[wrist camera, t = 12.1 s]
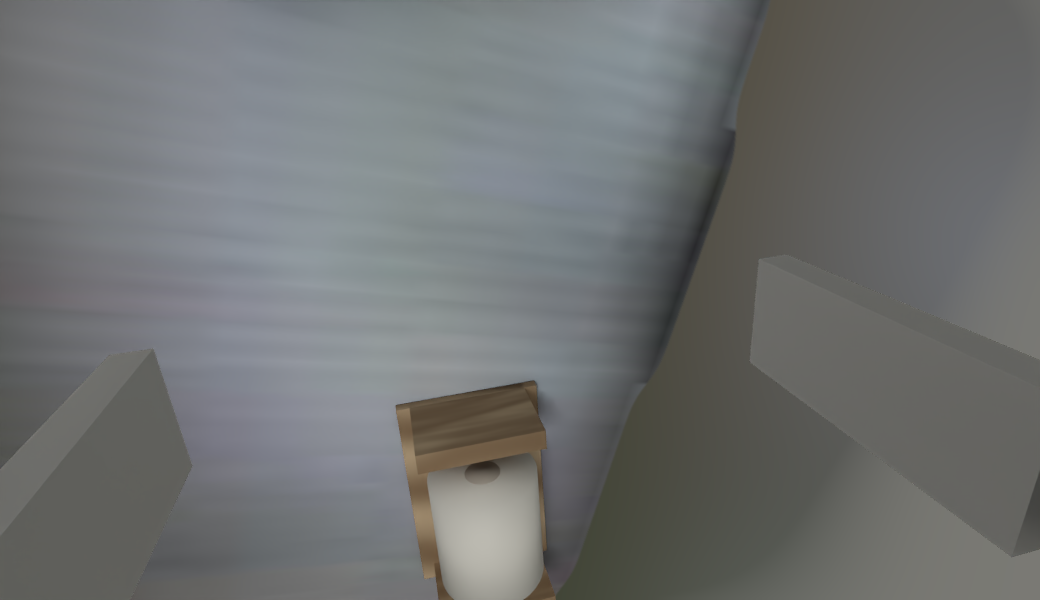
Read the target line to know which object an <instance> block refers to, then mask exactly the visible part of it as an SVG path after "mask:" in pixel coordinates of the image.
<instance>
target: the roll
mask: <svg viewBox="0 0 1040 600" xmlns="http://www.w3.org/2000/svg"><path fill="white" fill-rule="evenodd" d="M427 485H428V492H429V498H430V504H431V511H432V517H433V524H434V530H435V537H436V543H437V550H438V556H439V563H440V569H441V575H442V581H443V585H444V587H445V589H446V591H447V593H448V594H449V595H450V596H451V597H452V598H453V599H454V600H524V599H525V598H526V597H528V596H529V595H530V594H531V593H532V592H533V591H534V590H535V588H536V587H537V585H538V584H539V582H540V580H541V578H542V574H543V569H544V562H543V547H542V532H541V518H540V503H539V488H538V474H537V465H536V462H535V460H534V458H533V457H532V455H531V454H530V453H529V452H528V453H523V454H518V455H513V456H508V457H503V458H498V459H493V460H488V461H483V462H478V463H473V464H469V465H464V466H459V467H454V468H449V469H444V470H439V471H434V472H429V473H428V477H427Z"/></svg>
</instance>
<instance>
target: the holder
mask: <svg viewBox="0 0 1040 600" xmlns="http://www.w3.org/2000/svg"><path fill="white" fill-rule="evenodd" d="M396 413H397V419H398V424H399V430H400V436H401V442H402V448H403V454H404V460H405V466H406V472H407V478H408V484H409V490H410V496H411V502H412V508H413V514H414V520H415V525H416V531H417V537H418V543H419V549H420V555H421V561H422V567H423V573H424V579H428V578H432V577H436V582H437V590H438V598H439V600H454V599H453V598H452V597H451V596H450V595H449V594H448V593H447V591H446V589H445V587H444V585H443V581H442V575H441V569H440V563H439V556H438V550H437V543H436V537H435V530H434V524H433V517H432V511H431V504H430V498H429V492H428V485H427V477H428V473H429V472H434V471H439V470H444V469H449V468H454V467H459V466H464V465H469V464H473V463H478V462H483V461H488V460H493V459H498V458H503V457H508V456H513V455H518V454H523V453H528V452H529V453H530V454H531V455H532V457H533V458H534V460H535V462H536V465H537V474H538V488H539V503H540V518H541V532H542V547H543V551H545V550H547V545H546V529H545V513H544V498H543V482H542V466H541V450H542V449H547V446H546V430H545V428H544V426H543V424H542V422H541V420H540V418H539V416H538V403H537V387H536V384H535V382H534V381H529V382H523V383H518V384H512V385H506V386H501V387H495V388H490V389H484V390H478V391H473V392H467V393H462V394H456V395H451V396H445V397H439V398H434V399H428V400H423V401H417V402H411V403H406V404H400V405H396ZM524 600H556V599H555V594H554V591H553V588H552V585H551V583H550V580H549V577H548V574H547V571H546V569H545V566H544V569H543V574H542V578H541V580H540V582H539V584H538V585H537V587H536V588H535V590H534V591H533V592H532V593H531V594H530V595H529V596H528V597H526V598H525V599H524Z"/></svg>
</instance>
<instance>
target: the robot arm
mask: <svg viewBox="0 0 1040 600" xmlns="http://www.w3.org/2000/svg"><path fill="white" fill-rule="evenodd" d="M754 307H755V308H754V318H753V329H752V340H751V352H750V363H751V364H753V365H754V366H755V367H757V368H758V369H759V370H761V371H762V372H763V373H765V374H766V375H767V376H769V377H770V378H772V379H773V380H774V381H776V382H777V383H778V384H780V385H781V386H782V387H784V388H785V389H786V390H788V391H789V392H790V393H792V394H793V395H794V396H796V397H797V398H798V399H800V400H801V401H802V402H804V403H805V404H806V405H808V406H809V407H811V408H812V409H813V410H815V411H816V412H817V413H819V414H820V415H821V416H823V417H824V418H825V419H827V420H828V421H829V422H831V423H832V424H833V425H835V426H836V427H837V428H839V429H840V430H841V431H843V432H844V433H845V434H847V435H848V436H849V437H851V438H852V439H854V440H855V441H856V442H858V443H859V444H860V445H862V446H863V447H865V448H866V449H867V450H868V451H870V452H871V453H872V454H874V455H875V456H876V457H878V458H879V459H880V460H882V461H883V462H885V463H886V464H887V465H888V466H890V467H891V468H893V469H894V470H895V471H897V472H898V473H900V474H901V475H902V476H903V477H905V478H906V479H907V480H909V481H910V482H911V483H913V484H914V485H915V486H917V487H918V488H919V489H921V490H922V491H923V492H925V493H926V494H928V495H929V496H930V497H931V498H933V499H934V500H936V501H937V502H938V503H940V504H941V505H942V506H944V507H945V508H946V509H948V510H949V511H951V512H952V513H953V514H954V515H956V516H957V517H958V518H960V519H961V520H962V521H964V522H965V523H967V524H968V525H969V526H970V527H972V528H973V529H975V530H976V531H977V532H979V533H980V534H981V535H983V536H984V537H985V538H987V539H988V540H989V541H991V542H992V543H993V544H995V545H996V546H997V547H999V548H1000V549H1002V550H1003V551H1004V552H1005V553H1007V554H1008V555H1010V556H1011V557H1014V556H1018V555H1021V554H1025V553H1028V552H1032V551H1035V550H1039V549H1040V360H1039V359H1036V358H1034V357H1031V356H1029V355H1027V354H1024V353H1022V352H1019V351H1017V350H1014V349H1012V348H1010V347H1007V346H1005V345H1002V344H1000V343H998V342H995V341H993V340H991V339H988V338H986V337H983V336H981V335H978V334H976V333H974V332H972V331H969V330H967V329H964V328H962V327H959V326H957V325H955V324H952V323H950V322H948V321H945V320H943V319H940V318H938V317H935V316H933V315H931V314H928V313H926V312H924V311H921V310H919V309H916V308H914V307H911V306H909V305H907V304H904V303H902V302H900V301H897V300H895V299H892V298H890V297H888V296H885V295H883V294H881V293H878V292H876V291H873V290H871V289H869V288H866V287H864V286H861V285H859V284H857V283H854V282H852V281H849V280H847V279H844V278H842V277H840V276H837V275H835V274H833V273H830V272H828V271H825V270H823V269H820V268H818V267H816V266H813V265H811V264H809V263H806V262H804V261H801V260H799V259H797V258H794V257H792V256H790V255H781V256H774V257H767V258H761V259H759V263H758V273H757V285H756V295H755V306H754ZM191 468H192V463H191V460H190V457H189V454H188V451H187V448H186V445H185V442H184V439H183V436H182V433H181V430H180V427H179V424H178V421H177V418H176V415H175V412H174V409H173V406H172V403H171V400H170V397H169V394H168V391H167V388H166V385H165V382H164V379H163V376H162V373H161V370H160V367H159V364H158V361H157V358H156V355H155V352H154V349H147V350H140V351H133V352H127V353H120V354H113V355H109V356H108V357H107V358H106V359H105V360H104V361H103V362H102V363H101V364H100V365H99V366H98V367H97V369H96V370H95V371H94V372H93V373H92V374H91V375H90V376H89V377H88V378H87V379H86V380H85V381H84V382H83V383H82V384H81V385H80V386H79V387H78V388H77V389H76V390H75V392H74V393H73V394H72V395H71V396H70V397H69V398H68V399H67V400H66V401H65V402H64V403H63V404H62V405H61V406H60V407H59V408H58V409H57V410H56V411H55V412H54V414H53V415H52V416H51V417H50V418H49V419H48V420H47V421H46V422H45V423H44V424H43V425H42V426H41V427H40V428H39V429H38V430H37V431H36V432H35V433H34V434H33V435H32V437H31V438H30V439H29V440H28V441H27V442H26V443H25V444H24V445H23V446H22V447H21V448H20V449H19V450H18V451H17V452H16V453H15V454H14V455H13V456H12V457H11V458H10V460H9V461H8V462H7V463H6V464H5V465H4V466H3V467H2V468H1V469H0V600H130V599H131V597H132V595H133V593H134V591H135V588H136V586H137V584H138V582H139V580H140V578H141V576H142V573H143V571H144V569H145V567H146V565H147V563H148V561H149V558H150V556H151V554H152V552H153V550H154V548H155V545H156V543H157V541H158V539H159V537H160V535H161V533H162V530H163V528H164V526H165V524H166V522H167V520H168V517H169V515H170V513H171V511H172V509H173V507H174V505H175V502H176V500H177V498H178V496H179V494H180V492H181V490H182V487H183V485H184V483H185V481H186V479H187V477H188V474H189V472H190V470H191Z"/></svg>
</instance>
